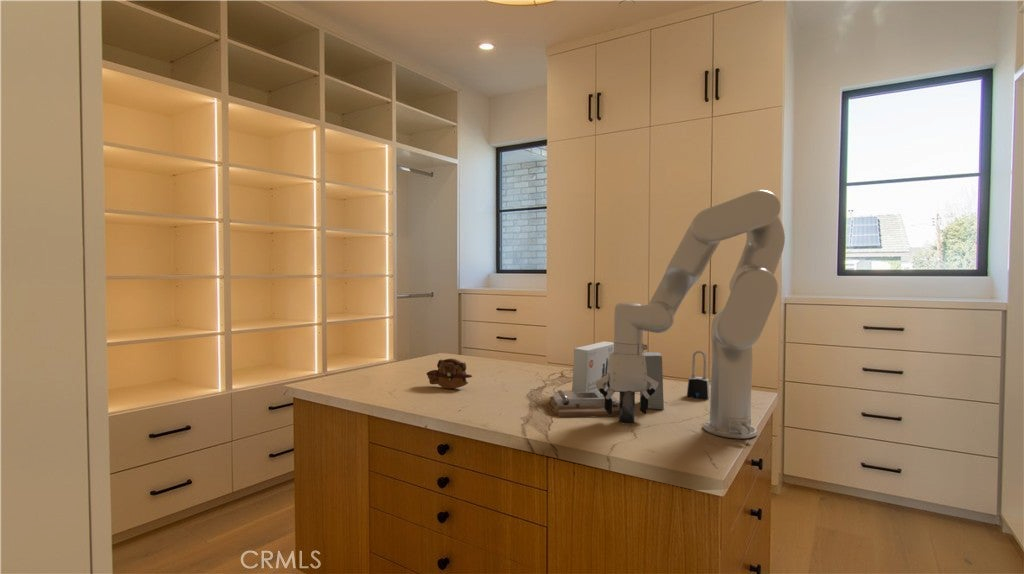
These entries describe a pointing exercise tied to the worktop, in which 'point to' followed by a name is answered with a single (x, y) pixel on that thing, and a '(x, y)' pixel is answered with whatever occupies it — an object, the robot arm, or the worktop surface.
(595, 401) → the grey tray
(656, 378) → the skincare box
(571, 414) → the walnut board
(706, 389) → the padlock
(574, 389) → the skincare box
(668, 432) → the worktop surface
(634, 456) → the worktop surface
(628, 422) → the pin
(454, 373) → the wooden carving
